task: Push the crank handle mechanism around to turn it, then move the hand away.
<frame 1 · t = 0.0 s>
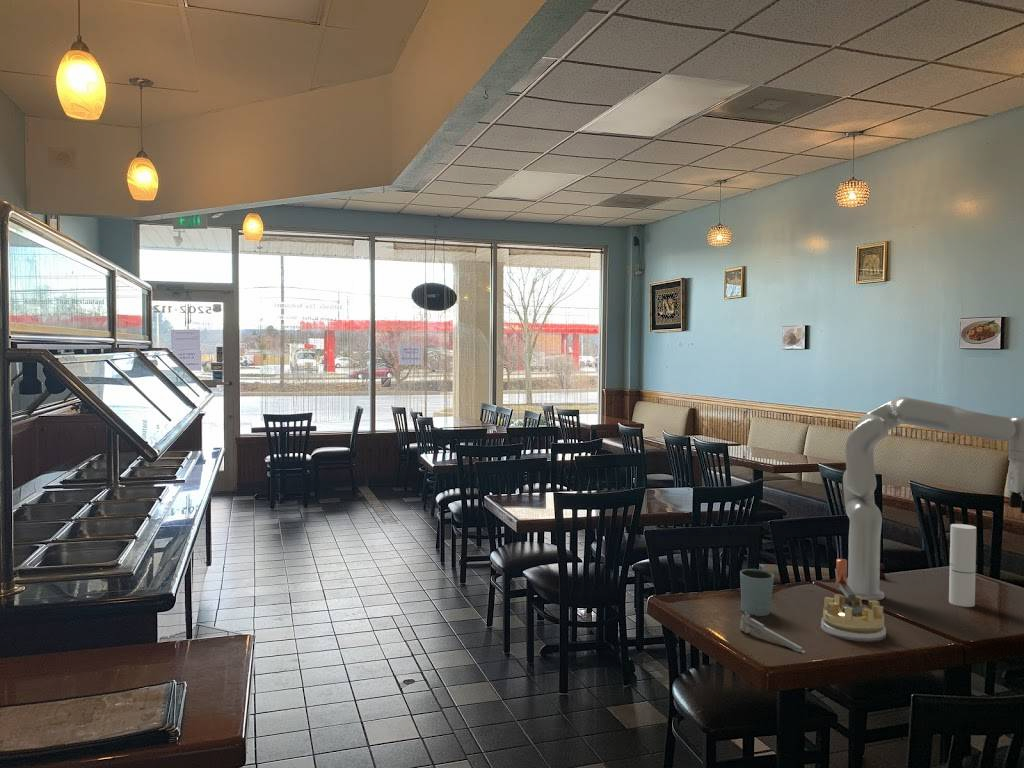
hand: (1021, 510, 236), 31 cm above the table, tool pointing down, fingers open, 9 cm apart
crank handle mechanism: (850, 595, 219), point 9 cm above the table, hinge at 0.0°
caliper: (771, 643, 207), on the table
cylindrical container: (961, 603, 242), on the table
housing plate: (852, 630, 216), on the table
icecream: (866, 575, 274), on the table
grey green cup: (756, 612, 233), on the table
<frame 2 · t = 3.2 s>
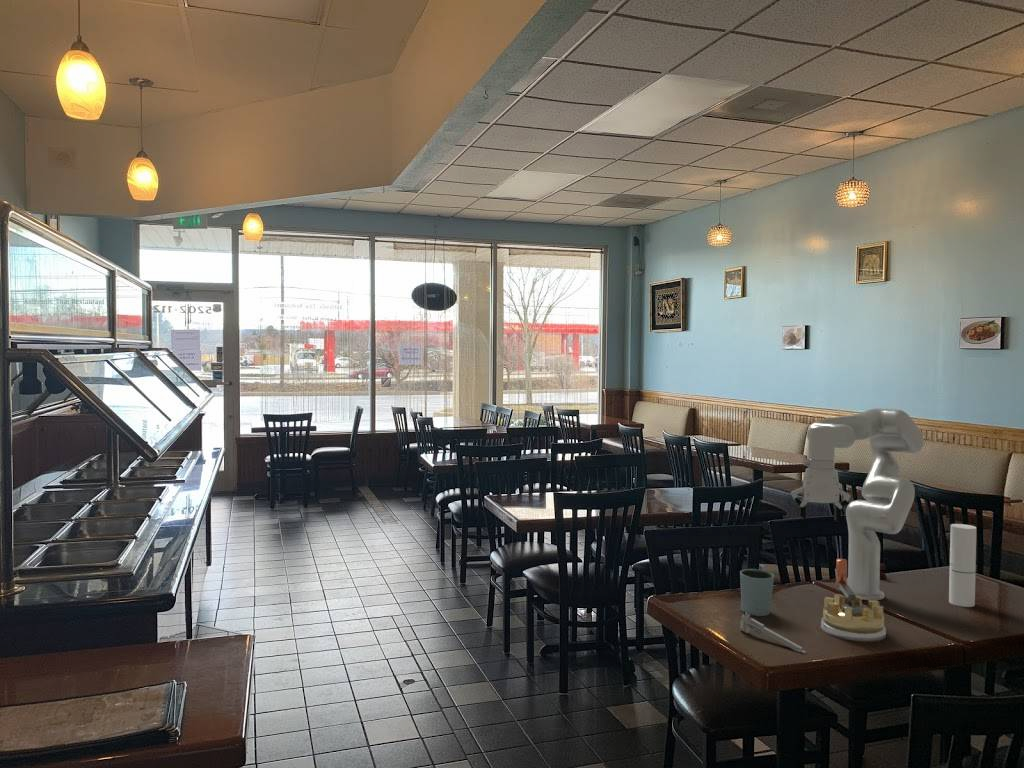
hand: (819, 520, 232), 29 cm above the table, tool pointing down, fingers open, 9 cm apart
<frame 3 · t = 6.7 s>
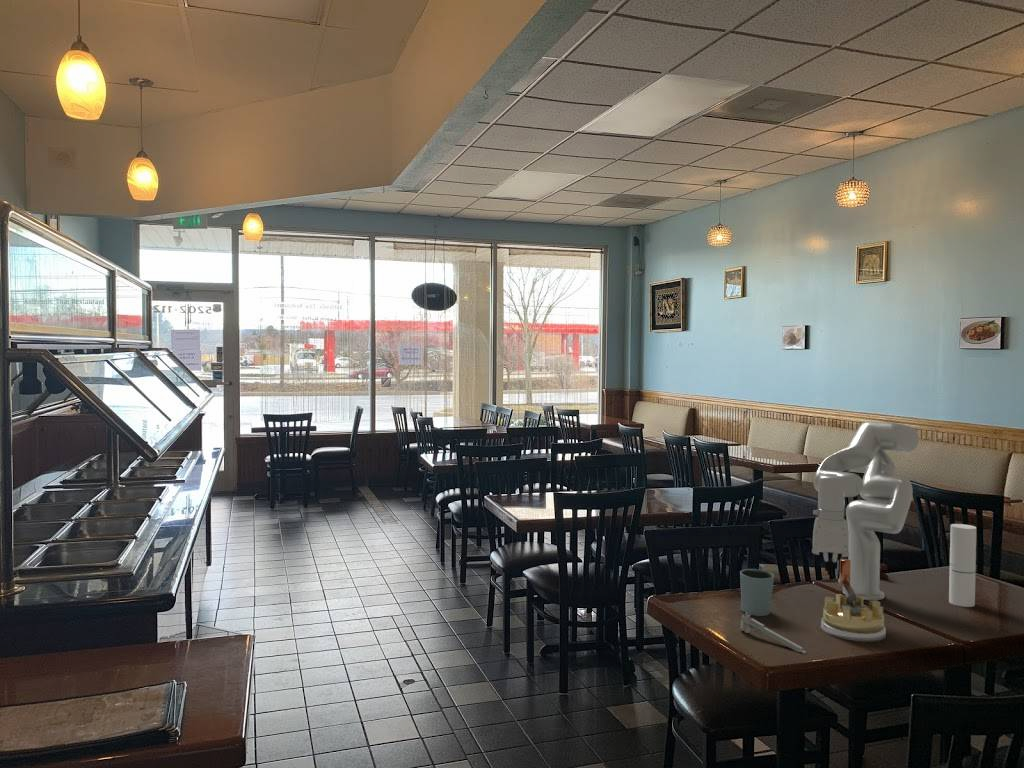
hand: (830, 573, 232), 12 cm above the table, tool pointing down, fingers closed
crank handle mechanism: (851, 595, 219), point 9 cm above the table, hinge at -3.7°, touching gripper
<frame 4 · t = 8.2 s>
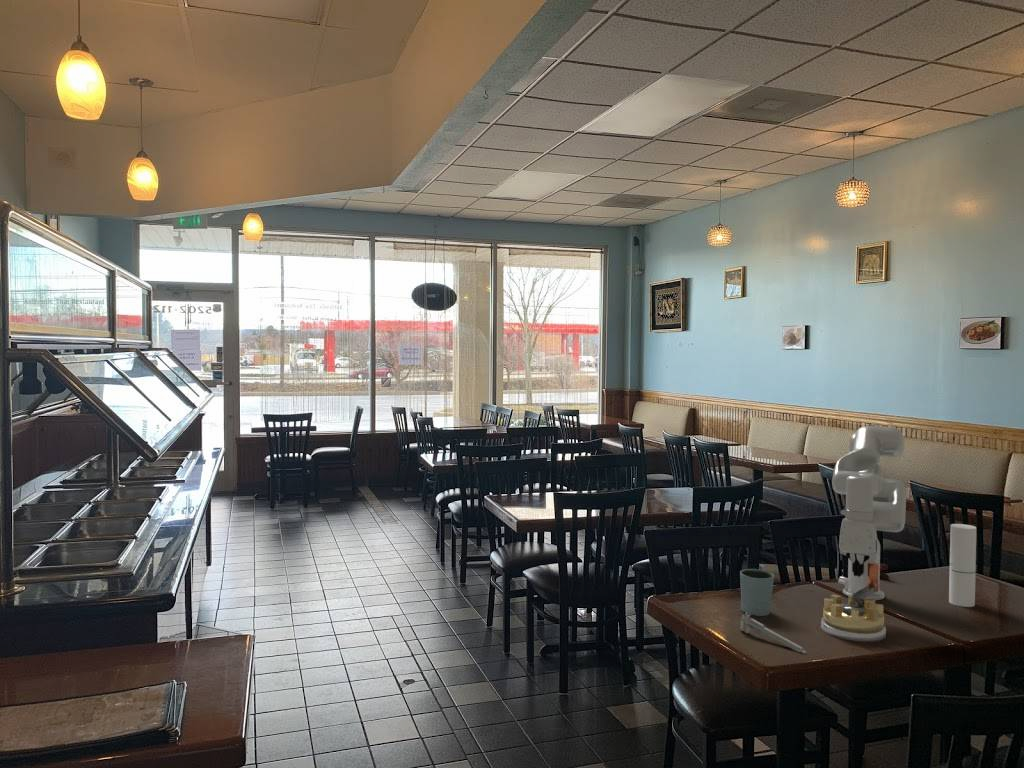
hand: (857, 575, 230), 12 cm above the table, tool pointing down, fingers closed
crank handle mechanism: (857, 595, 218), point 9 cm above the table, hinge at -32.0°, touching gripper
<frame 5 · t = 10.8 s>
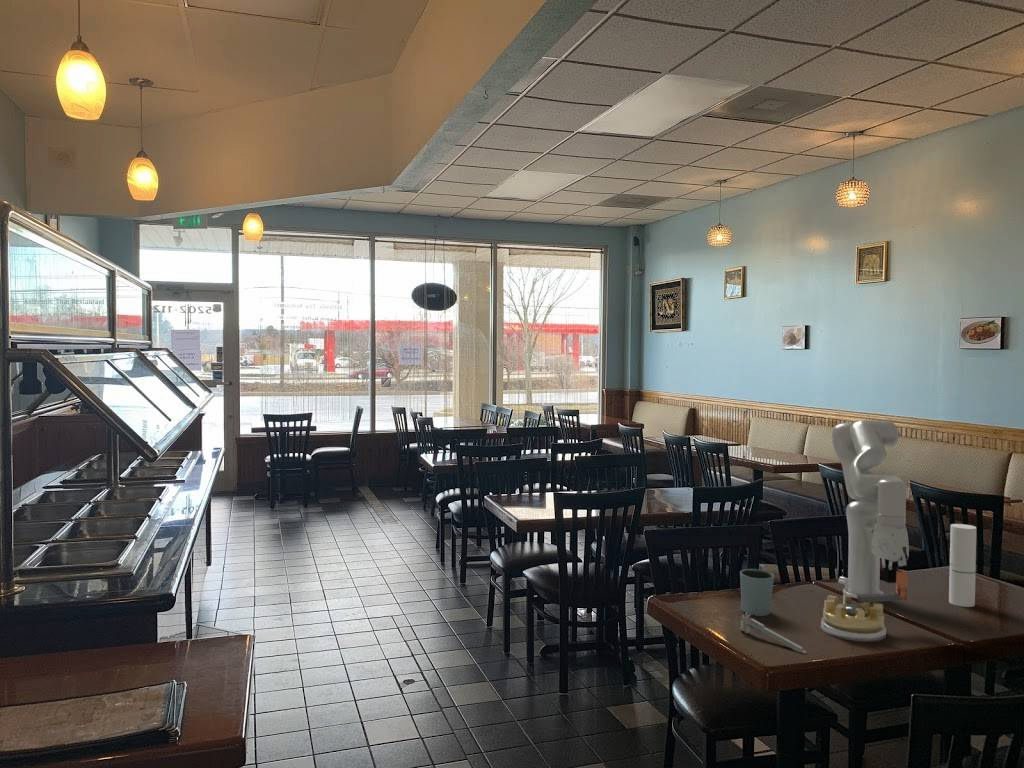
hand: (890, 581, 223), 12 cm above the table, tool pointing down, fingers closed
crank handle mechanism: (863, 597, 217), point 9 cm above the table, hinge at -65.3°, touching gripper
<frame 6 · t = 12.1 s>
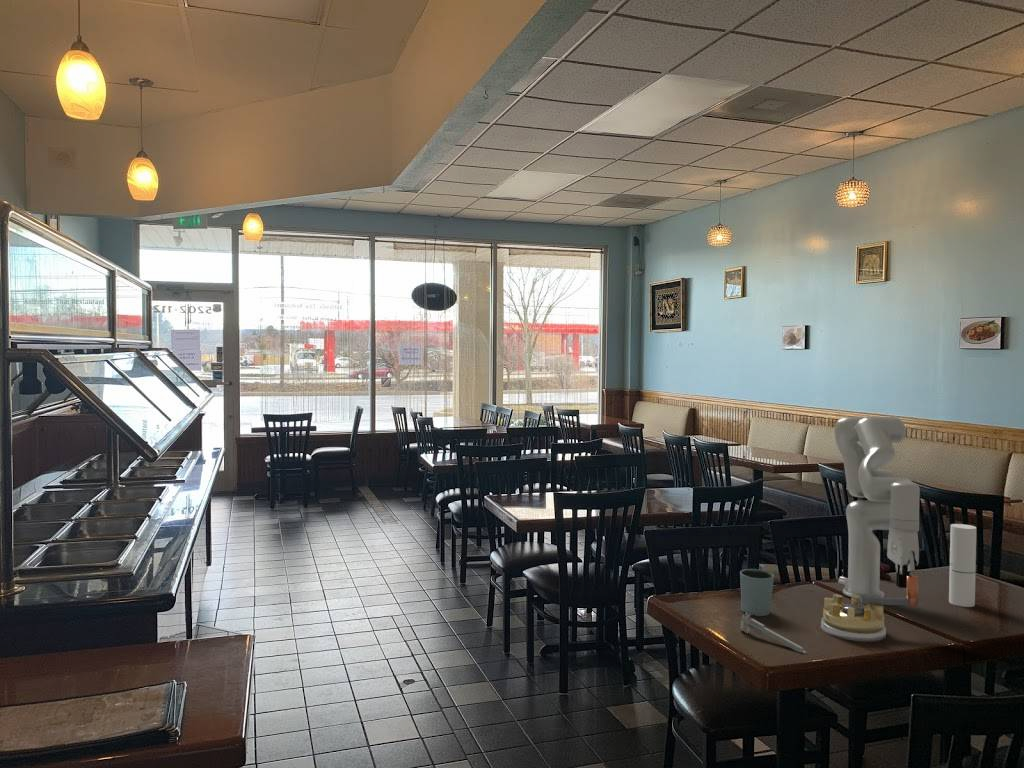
hand: (903, 586, 218), 12 cm above the table, tool pointing down, fingers closed
crank handle mechanism: (865, 599, 215), point 9 cm above the table, hinge at -84.4°, touching gripper
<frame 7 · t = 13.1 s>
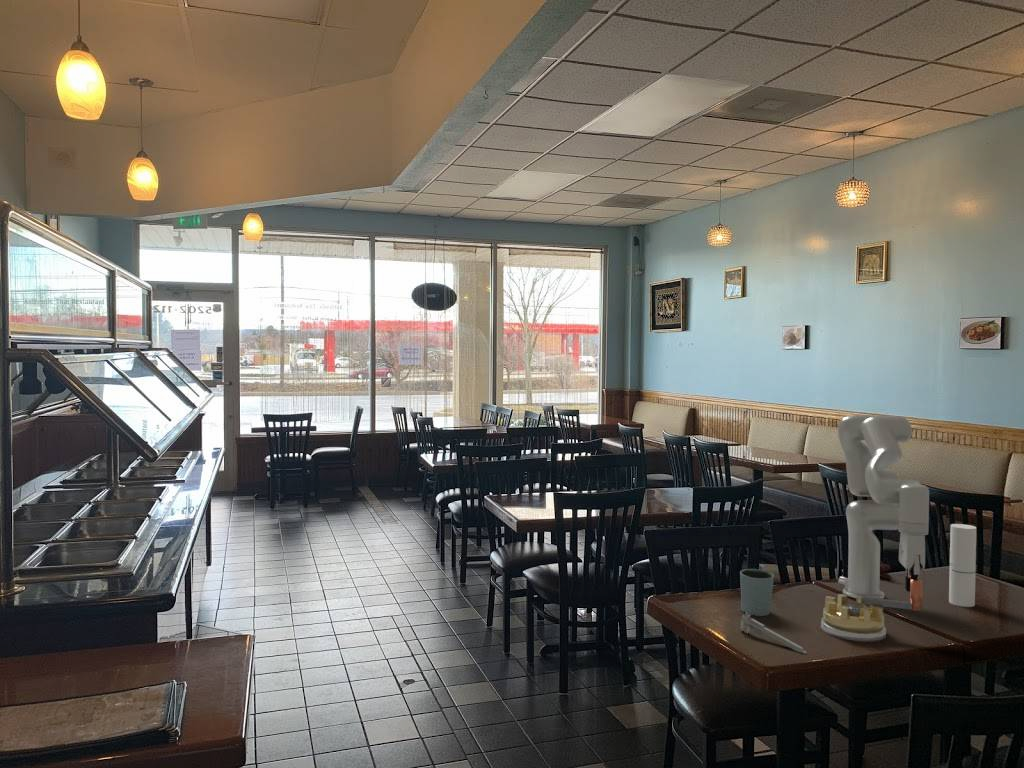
hand: (912, 591, 214), 12 cm above the table, tool pointing down, fingers closed
crank handle mechanism: (866, 599, 215), point 9 cm above the table, hinge at -98.1°, touching gripper
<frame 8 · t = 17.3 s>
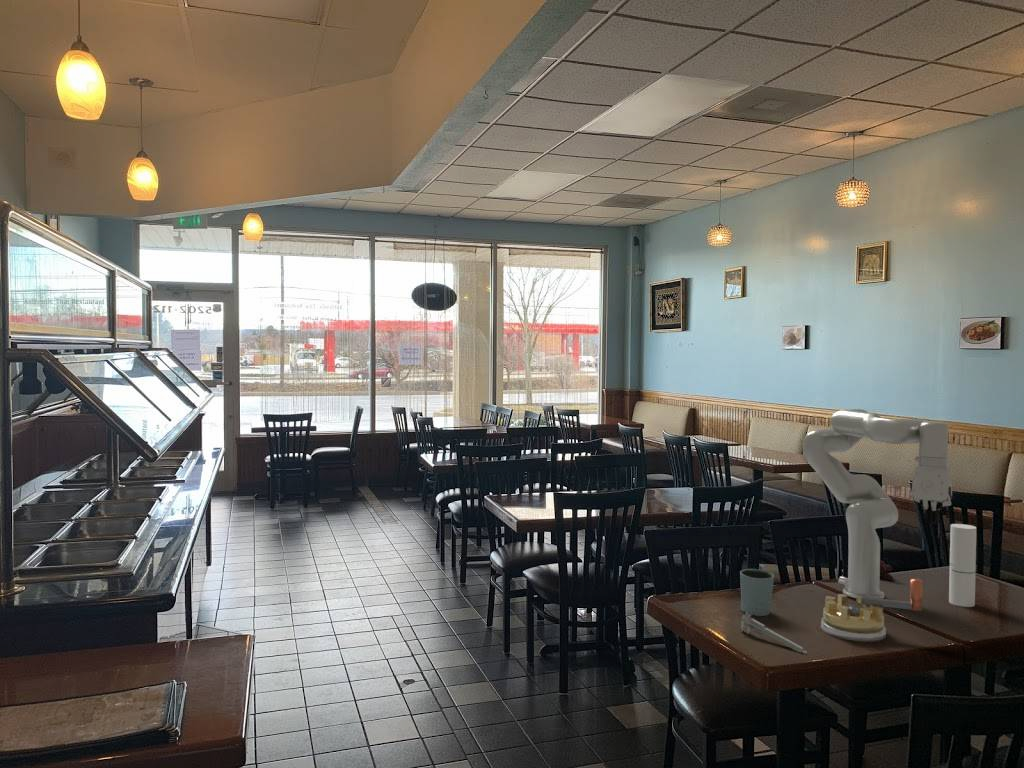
hand: (931, 522, 227), 29 cm above the table, tool pointing down, fingers closed
crank handle mechanism: (866, 599, 215), point 9 cm above the table, hinge at -98.3°
at the end: crank handle mechanism at -98° (first picture: +0°) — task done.
